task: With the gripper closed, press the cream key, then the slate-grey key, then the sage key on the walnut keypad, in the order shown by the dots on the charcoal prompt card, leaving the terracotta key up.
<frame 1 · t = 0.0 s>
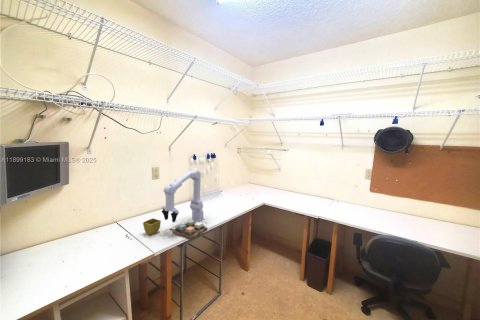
hand: (170, 220, 142), 10 cm above the table, tool pointing down, fingers open, 7 cm apart
key terracotta: (190, 229, 141), point 4 cm above the table, slide at 0.0 cm
key sage: (190, 222, 153), point 4 cm above the table, slide at 0.0 cm
key cream: (198, 225, 149), point 4 cm above the table, slide at 0.0 cm
keypad: (190, 231, 148), on the table
prompt card: (177, 227, 154), on the table
key slate: (181, 227, 145), point 4 cm above the table, slide at 0.0 cm
flower pot: (152, 233, 144), on the table
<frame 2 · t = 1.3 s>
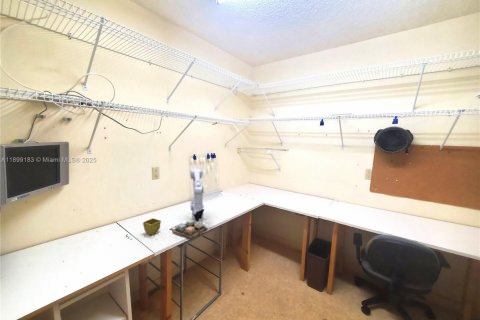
hand: (198, 219, 149), 8 cm above the table, tool pointing down, fingers open, 4 cm apart
nothing on the table moved.
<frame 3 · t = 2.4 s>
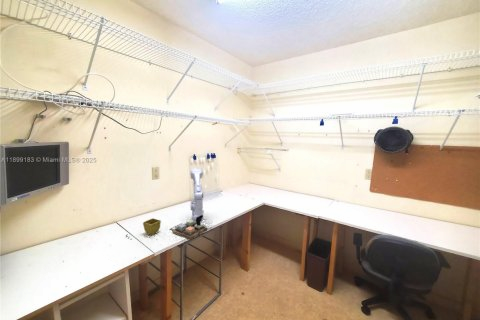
hand: (198, 225, 149), 4 cm above the table, tool pointing down, fingers closed, pressing on key cream
key cream: (198, 226, 149), point 3 cm above the table, slide at 1.1 cm, touching gripper
everything else where it was.
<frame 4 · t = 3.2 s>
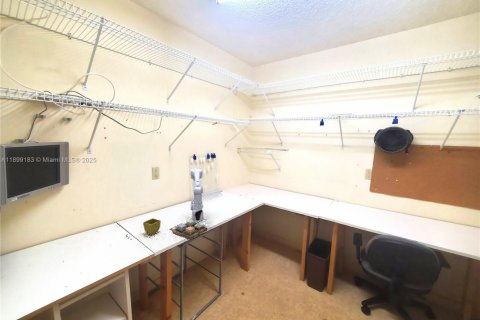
hand: (197, 220, 148), 8 cm above the table, tool pointing down, fingers closed
key cream: (198, 226, 149), point 3 cm above the table, slide at 1.1 cm
everything else where it was.
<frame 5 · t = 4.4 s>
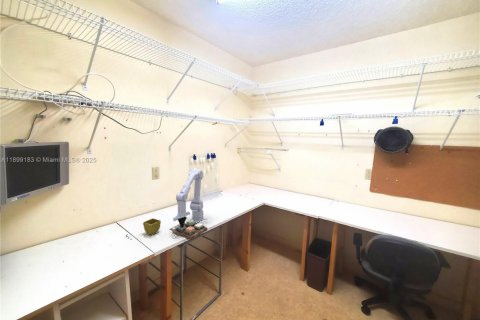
hand: (181, 226, 145), 4 cm above the table, tool pointing down, fingers closed, pressing on key slate
key slate: (181, 228, 145), point 3 cm above the table, slide at 1.0 cm, touching gripper
everything else where it was.
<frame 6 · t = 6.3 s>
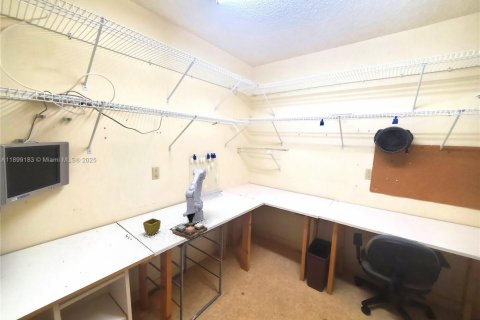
hand: (190, 222, 153), 4 cm above the table, tool pointing down, fingers closed, pressing on key sage
key sage: (190, 223, 153), point 3 cm above the table, slide at 1.1 cm, touching gripper
key slate: (181, 228, 145), point 3 cm above the table, slide at 1.1 cm
everything else where it was.
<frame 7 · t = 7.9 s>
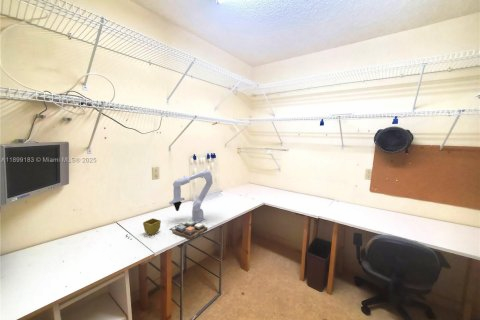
hand: (177, 210, 163), 9 cm above the table, tool pointing down, fingers closed
key sage: (190, 223, 153), point 3 cm above the table, slide at 1.1 cm
everything else where it was.
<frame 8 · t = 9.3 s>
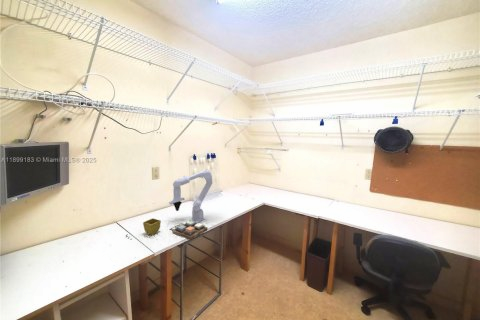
hand: (177, 210, 163), 9 cm above the table, tool pointing down, fingers closed
nothing on the table moved.
at the end: key cream slide at 1.1 cm; key slate slide at 1.1 cm; key sage slide at 1.1 cm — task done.
